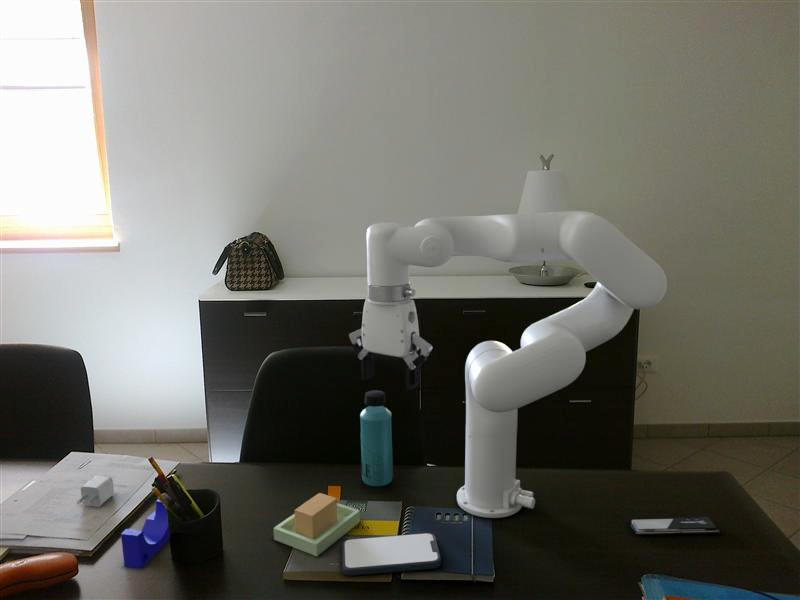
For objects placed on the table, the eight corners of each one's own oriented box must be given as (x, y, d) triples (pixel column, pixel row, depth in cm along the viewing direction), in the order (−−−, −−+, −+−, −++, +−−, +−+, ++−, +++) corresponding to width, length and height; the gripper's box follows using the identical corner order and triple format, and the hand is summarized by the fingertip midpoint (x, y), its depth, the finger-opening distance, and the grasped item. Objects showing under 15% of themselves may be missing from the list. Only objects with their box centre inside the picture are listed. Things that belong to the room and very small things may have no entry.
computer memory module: (636, 531, 118) (628, 518, 122) (636, 536, 118) (628, 523, 122) (720, 529, 119) (709, 516, 122) (719, 534, 119) (709, 521, 123)
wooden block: (337, 520, 123) (337, 498, 122) (313, 539, 117) (312, 516, 116) (320, 514, 125) (319, 492, 124) (295, 532, 119) (294, 509, 118)
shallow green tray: (360, 521, 124) (360, 510, 124) (316, 556, 114) (316, 544, 113) (319, 507, 129) (318, 496, 129) (273, 539, 119) (273, 528, 118)
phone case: (343, 579, 108) (442, 570, 110) (342, 570, 108) (442, 561, 109) (342, 547, 117) (434, 539, 118) (341, 538, 116) (434, 531, 118)
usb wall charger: (114, 495, 134) (112, 477, 133) (93, 514, 128) (90, 494, 127) (96, 494, 135) (93, 475, 134) (73, 512, 128) (71, 492, 127)
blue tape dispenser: (155, 526, 123) (152, 496, 122) (178, 528, 122) (175, 498, 121) (116, 565, 112) (112, 532, 110) (141, 568, 111) (137, 535, 110)
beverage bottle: (399, 483, 138) (398, 390, 134) (381, 497, 133) (379, 401, 128) (373, 475, 141) (371, 384, 137) (354, 488, 136) (351, 394, 132)
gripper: (441, 293, 120) (440, 385, 124) (361, 284, 129) (363, 369, 133) (419, 302, 114) (420, 398, 118) (337, 291, 123) (340, 381, 127)
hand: (389, 383), depth 125 cm, fingers open, 9 cm apart
